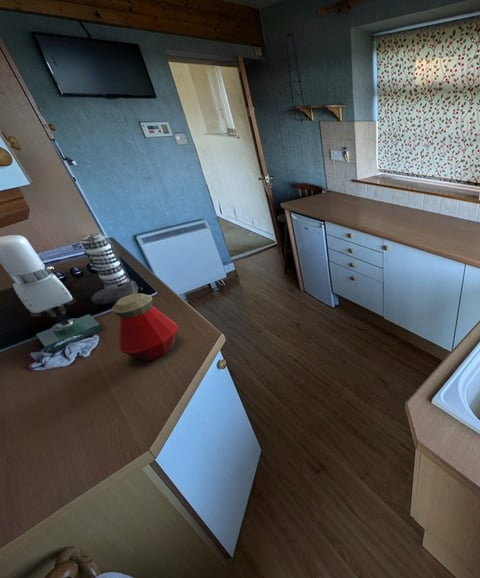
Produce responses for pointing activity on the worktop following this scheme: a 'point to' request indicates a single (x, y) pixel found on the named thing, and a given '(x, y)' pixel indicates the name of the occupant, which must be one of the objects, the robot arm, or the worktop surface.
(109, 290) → the perforated stone tool
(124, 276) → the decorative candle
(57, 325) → the pump button
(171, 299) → the worktop surface
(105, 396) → the worktop surface
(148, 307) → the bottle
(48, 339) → the green flat block
